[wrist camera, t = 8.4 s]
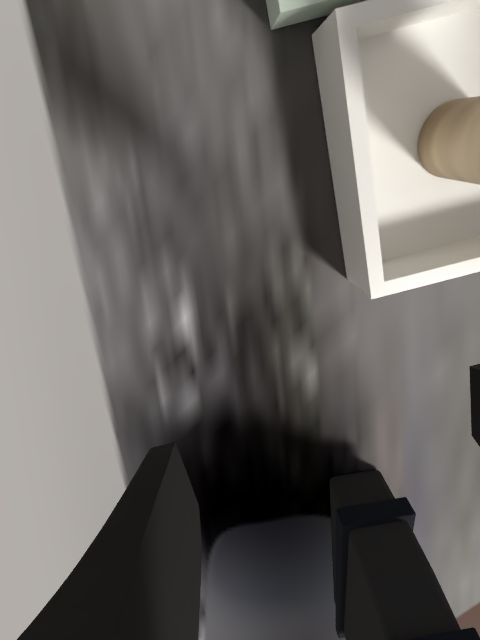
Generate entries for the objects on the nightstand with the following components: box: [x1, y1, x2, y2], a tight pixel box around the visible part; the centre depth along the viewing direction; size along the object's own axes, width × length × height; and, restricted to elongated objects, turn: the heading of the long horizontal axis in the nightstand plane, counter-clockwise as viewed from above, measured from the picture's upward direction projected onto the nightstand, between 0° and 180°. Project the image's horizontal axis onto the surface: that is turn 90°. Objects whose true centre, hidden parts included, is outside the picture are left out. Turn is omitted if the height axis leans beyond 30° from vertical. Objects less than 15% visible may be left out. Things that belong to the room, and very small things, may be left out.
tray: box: [312, 0, 480, 299], centre depth 16 cm, size 10×10×3 cm
